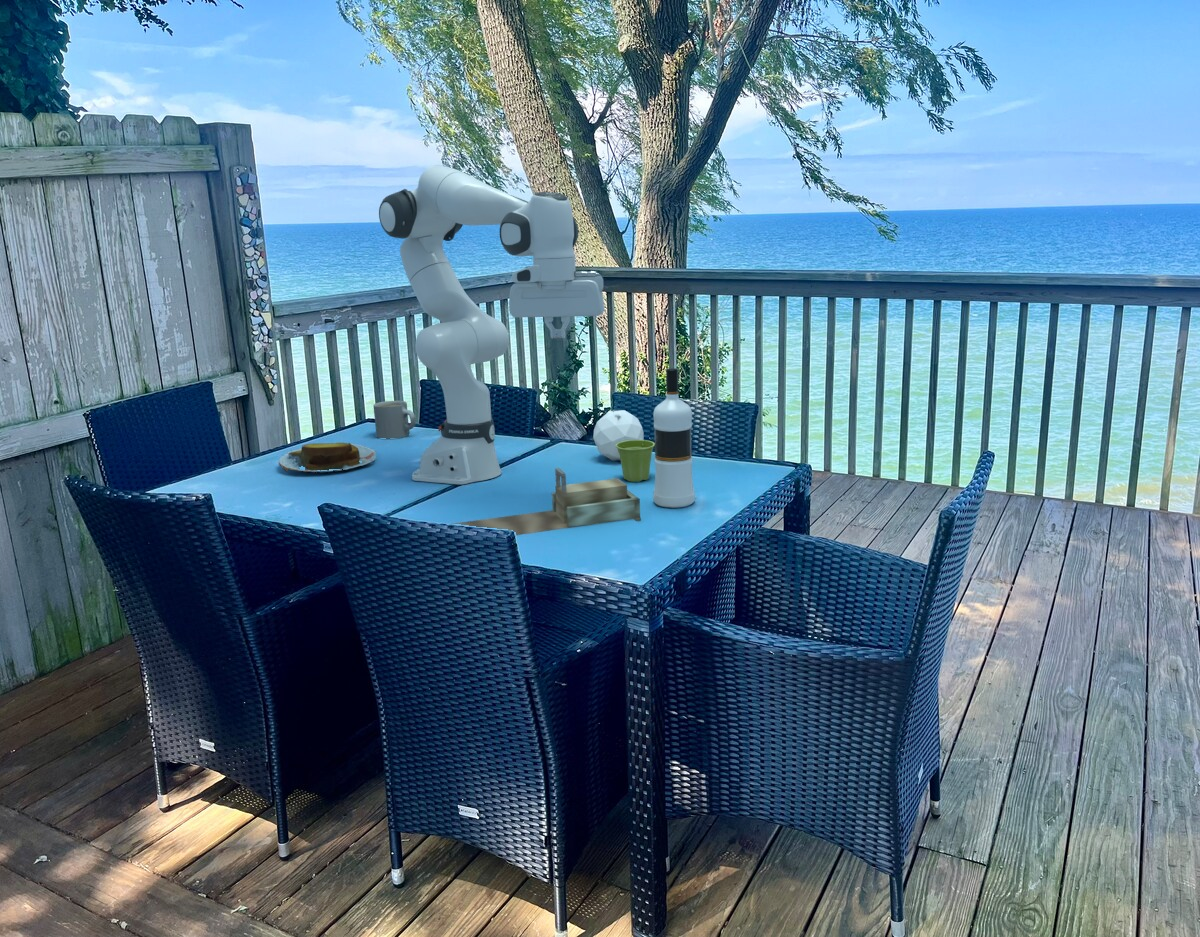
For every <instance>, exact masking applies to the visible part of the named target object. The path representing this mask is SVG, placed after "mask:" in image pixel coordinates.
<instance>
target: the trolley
mask: <svg viewBox="0 0 1200 937" xmlns="http://www.w3.org/2000/svg"><path fill="white" fill-rule="evenodd" d="M554 472H555V485H554V490H555V492H554V493H555V494H556V513H557V516H558V517H559V518H560V519H561V520H562V521H563V522H564V523H567V507H569V506H577V505H584V504H592V503H599V502H607V501H614V500H622V499H627V490H628V485H627V484H626V483H624V481H621V480H620V479H619V478H618V477H617V478H608V479H602V480H592V481H585V482H577V483H570V484H567V477H566V476H567V473H566V472H565V471H564V470H562V469H561V468H560V467H555V468H554Z"/></svg>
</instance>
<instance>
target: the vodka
mask: <svg viewBox="0 0 1200 937" xmlns="http://www.w3.org/2000/svg"><path fill="white" fill-rule="evenodd" d="M665 371H666V373H665V374H666V375H665V377H666V378H665V379H666V381H665V384H666V386H665V387H666V396H665V397H666V398H665V399H664V400H662V401H661V402H660V403H659V404H658V405H656V406H655V407H654V410H653V413H652V414H653V428H654V443H655V446H654V459H653V461H654V467H655V477H654V490H653V492H652V493H653V494H652V495H653V496H652V499H653V502H654V504H656V505H657V506H660V507H661V508H668V509H677V508H678V509H679V508H685V507H688V506H690V505H691V504H693V503H694V502H695V500H696V492H695V489H694V481H693V461H694V459H693V457H692V426H693V423H692V419H693V411H692V408H691V407H690V405H689V404H687V403H686V402H685V401H683V400H681V398H679V369H678V368H675V367H670V368H667V369H666V370H665Z"/></svg>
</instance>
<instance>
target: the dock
mask: <svg viewBox="0 0 1200 937" xmlns="http://www.w3.org/2000/svg"><path fill="white" fill-rule="evenodd" d="M551 502H552V504H551V505H552V509H551V510H543V511H537V512H530V513H522V514H516V515H515V514H514V515H513V514H512V515H507V516H501V517H500V516H499V517H492V518H484V519H475V520H468V521H462V522H455V523H453V524H461V525H469V526H476V527H487V528H497V529H508V530H513V531H514V532H516V535H515V536H521V535H528V534H534V533H535V534H536V533H541V532H549V531H557V530H564V529H571V528H578V527H583V526H584V527H585V526H590V525H591V526H593V525H599V524H600V525H601V524H605V523H606V524H607V523H613V522H619V521H620V522H621V521H627V520H634V521H635V522H639V521H641V520H642V517H641V502H640V498H639V497H638V496H637V495H635V494H634V493H633V492H631V491H629V490H628V489H627V499H622V500H614V501H607V502H599V503H592V504H584V505H577V506H569V507H567V523H564V522H563V521H562V520H561V519H560V518H559V517H558V516H557V513H556V494H555V492H551Z"/></svg>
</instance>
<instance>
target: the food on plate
mask: <svg viewBox="0 0 1200 937" xmlns="http://www.w3.org/2000/svg"><path fill="white" fill-rule="evenodd" d="M376 452H377V451H376V450H375V449H373V448H369V447H367V446H364V445H361V444H355V443H354V444H353V443H350V442H328V443H327V442H326V443H325V442H324V443H323V442H322V443H320V442H318V443H315V442H314V443H307V444H303V445H302V446H301V447H300V448H297V449H293V450H292V449H291V450H290V451H287V452H286V453H285V454H283V455H281V456H280V457H279V459H278V465H279V466H281V467H282V470H285V471H288V470H290V471H296V472H302V471H303V472H305V473H306V472H310V473H315V472H316V473H317V472H320V473H321V472H322V473H323V472H328V473H334V472H333V471H335V472H341V471H344V470H345V471H347V470H350V469H354V468H357V467H360V466H363V467H364V465H369V463H372V462H374V461H375V460H376V457H377V454H376ZM359 461H362V463H360V462H359ZM301 466H303V467H305V470H300V468H299V467H301ZM329 469H341V470H333V471H329ZM342 469H343V470H342ZM317 470H320V471H317ZM321 470H327V471H321Z"/></svg>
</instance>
